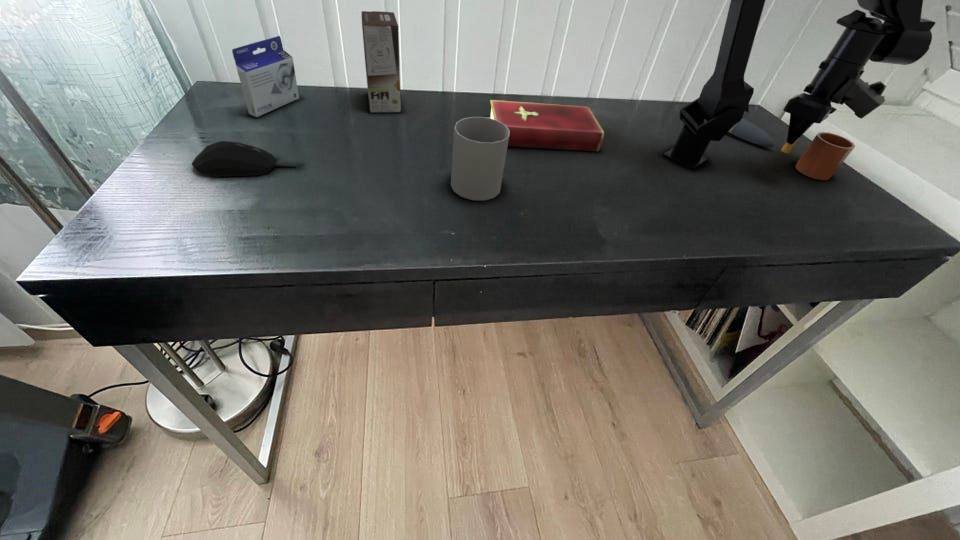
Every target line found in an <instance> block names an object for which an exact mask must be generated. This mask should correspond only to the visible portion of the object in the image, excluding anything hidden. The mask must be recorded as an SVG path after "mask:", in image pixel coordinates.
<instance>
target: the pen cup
mask: <svg viewBox="0 0 960 540" xmlns="http://www.w3.org/2000/svg"><path fill="white" fill-rule="evenodd" d="M855 148H856V145H855V143H853V142H852V141H851V140H850V139H848V138H846V137H844V136H842V135H840V134H836V133H833V132H826V131H820V132H818V133H817V134H816V135H815V136H814V137H813V139H812V141H811V142H810V144H809V145H808V146H807V148H806V149H805V150H804V151H803V153H802V155H801V156H800V158H799V159H798V160H797V162H796V163H795V166H794V167H795V169H796V170H797V171H798V172H799V173H800V174H802V175H804V176H806V177H808V178H811V179H814V180H817V181H828V180H830V179H831V178H832V177H833V175H834V174H835V173H836V172H837V170H838V169H839V168H840V167H841V165H843V163H844V162H845V161H846V159H847V158H848V157H849V155H850V154H851V153H852V151H853V150H854V149H855Z"/></svg>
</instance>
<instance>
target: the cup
mask: <svg viewBox="0 0 960 540" xmlns="http://www.w3.org/2000/svg"><path fill="white" fill-rule="evenodd" d="M509 134H510V130H509V129H508V128H507V126H506V125H505V124H503V123H501V122H499V121H497V120H494V119H490V118H488V117H485V116H470V117H464V118H461V119H460V120H458V121H457V122H456V123H455V125H454V129H453V145H452V159H451V160H452V161H451V162H452V163H451V177H450V187H451V188H452V191H453V192H454V193H455V194H456V195H458V196H459V197H461V198H464V199H467V200H471V201H488V200H491V199H494V198H496V197H497V196H498V195H499V194H500V193H501V189H502V183H503V177H504V172H505V171H504V170H505V164H506V158H507V152H508V147H509V146H508V141H509Z"/></svg>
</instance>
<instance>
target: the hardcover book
mask: <svg viewBox="0 0 960 540" xmlns="http://www.w3.org/2000/svg"><path fill="white" fill-rule="evenodd" d="M489 103H490V107H491V108H490V116H487V118H490V119H494V120H497V121H499V122H501V123H503V124H505V125H506V126H507V128H508V129H509V130H510V134H509V141H508V147H513V148H530V149H531V148H534V149H549V150H550V149H551V150H552V149H553V150H568V151H587V152H599V151H600V149H601V147H602V144H603V141H604V137H605V131H604V129H603V128H602V127H601V125H600V123H599V122H598V120H597V118H596V116H595V114H594V113H593V112H592V109H591V108H590V106H585V105H570V104H569V105H568V104H556V103H540V102H529V101H527V102H526V101H512V100H498V99H497V100H496V99H490V100H489Z"/></svg>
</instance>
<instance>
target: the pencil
mask: <svg viewBox="0 0 960 540" xmlns="http://www.w3.org/2000/svg"><path fill="white" fill-rule="evenodd" d="M799 139H800V138H798V139H797V140H796V141H795V142H794V143H793V144H789V143H787V141H786V142H785V143H784V145H783V146H782V148H781V149H780V151H781V152H782V153H784V154H790V152H791V151H792V149H793V147H794V146H795V144H796V143H797V141H798V140H799Z"/></svg>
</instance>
